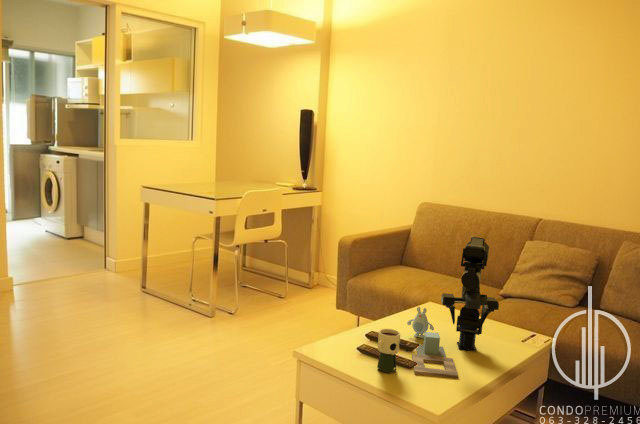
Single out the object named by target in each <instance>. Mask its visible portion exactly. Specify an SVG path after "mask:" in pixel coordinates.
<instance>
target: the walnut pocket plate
mask: <svg viewBox="0 0 640 424" xmlns="http://www.w3.org/2000/svg"><path fill="white" fill-rule="evenodd" d="M411 359H412V360H413V361H414V362H416V363H417V366H414V368H413V373H414V375H421V376H432V377H441V378H442V377H443V378H449V379H450V378H452V379H459V374H458V371H457V367H456V364H455V361H454V358H453V357H447V356H446V357H437V356H426V355H417V353H416V354H415V353H414V354H413V353H412V354H411ZM413 361H412V362H413ZM425 363H429V364H442V365H443V367H444V369H442V368H441V369H440V368H434V367H433V368H431V367H425Z"/></svg>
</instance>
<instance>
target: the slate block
mask: <svg viewBox="0 0 640 424" xmlns="http://www.w3.org/2000/svg"><path fill="white" fill-rule="evenodd" d="M423 335H424V338H423V343H422V345H423V349H424V353H431V354H439V346H440V342H441V338H440V337H441V336H440V333H439V332H430V331H426V332H425V333H424V334H423Z"/></svg>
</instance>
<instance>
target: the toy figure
mask: <svg viewBox="0 0 640 424" xmlns="http://www.w3.org/2000/svg"><path fill="white" fill-rule="evenodd" d="M416 310H417V311H416V312H417V313H416V315H415V316H414V318H413V319H410V320H408V321H407V323H406V324H407V326H412V329H413V331H414V332H415V333H414V334H413V337H414V338H420V339H424V333H425V332H428V329H429V330H431V331H434V330H435V328H434V326H433V324H432V323H430V322H429V321H428V317H427V315H426V314H427V308H426V307H423V309H422V311H421V307H420V306H417V308H416Z"/></svg>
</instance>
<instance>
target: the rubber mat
mask: <svg viewBox="0 0 640 424" xmlns="http://www.w3.org/2000/svg"><path fill="white" fill-rule="evenodd" d="M415 350H416V355H426V356H437V357H447V356H446V355H447V354H446V353H445V348H444V346H440V345H439V354H431V353H424V349H423V344H419V347H418V348H416V347H415Z"/></svg>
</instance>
